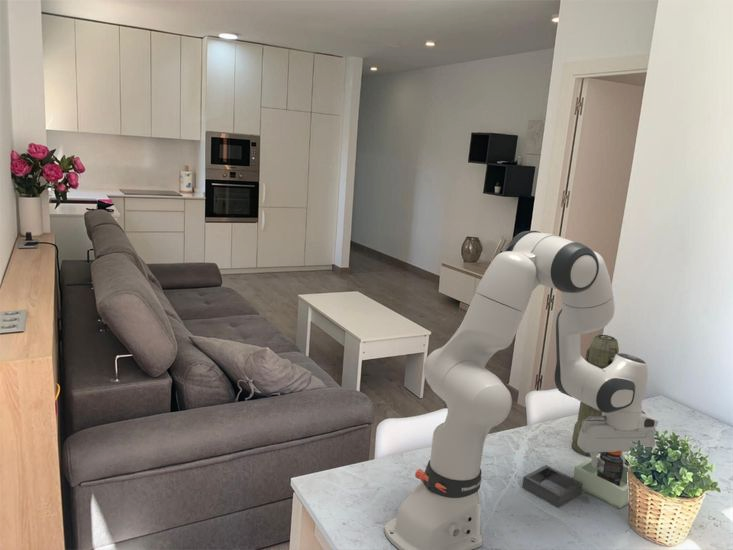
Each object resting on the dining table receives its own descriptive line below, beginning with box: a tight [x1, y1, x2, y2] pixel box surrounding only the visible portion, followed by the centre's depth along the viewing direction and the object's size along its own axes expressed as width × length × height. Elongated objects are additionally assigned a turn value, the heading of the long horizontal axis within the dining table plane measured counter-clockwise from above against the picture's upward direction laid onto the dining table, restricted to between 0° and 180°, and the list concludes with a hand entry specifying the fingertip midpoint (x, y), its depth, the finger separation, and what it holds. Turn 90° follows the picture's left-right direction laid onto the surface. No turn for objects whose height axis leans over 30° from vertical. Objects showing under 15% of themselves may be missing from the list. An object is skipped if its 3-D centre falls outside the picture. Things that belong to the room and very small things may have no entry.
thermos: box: [571, 334, 620, 458], centre depth 167 cm, size 9×12×35 cm
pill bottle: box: [597, 451, 625, 487], centre depth 149 cm, size 6×6×11 cm
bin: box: [572, 453, 630, 510], centre depth 150 cm, size 13×13×5 cm
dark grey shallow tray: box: [521, 464, 583, 508], centre depth 147 cm, size 10×10×3 cm
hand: (611, 465), depth 149 cm, fingers open, 8 cm apart
